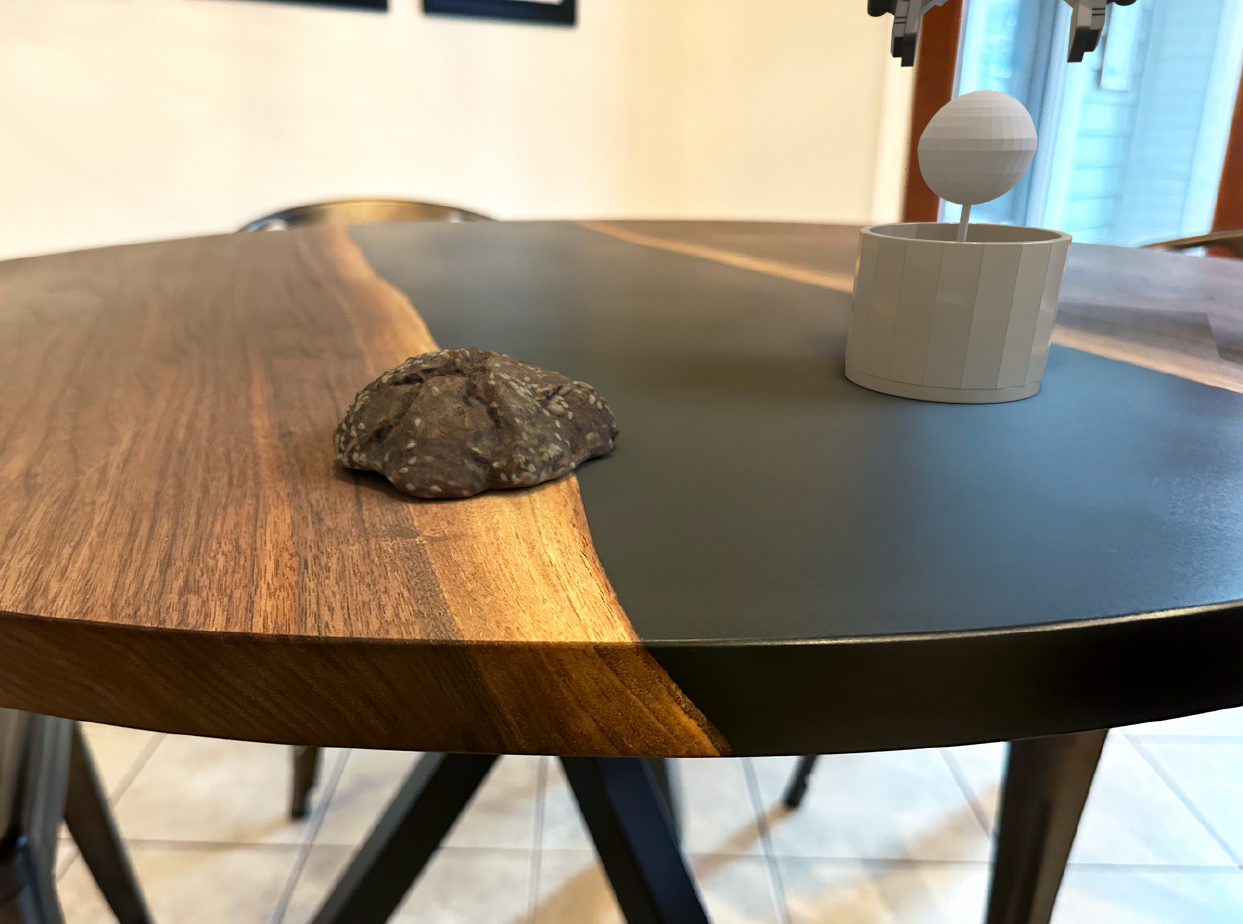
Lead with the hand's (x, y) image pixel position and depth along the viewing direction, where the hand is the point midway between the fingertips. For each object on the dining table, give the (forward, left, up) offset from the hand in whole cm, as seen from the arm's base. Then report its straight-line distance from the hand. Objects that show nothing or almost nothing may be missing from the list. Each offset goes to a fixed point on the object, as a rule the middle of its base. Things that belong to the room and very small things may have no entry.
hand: (991, 52), depth 51 cm
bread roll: (+30, +11, -18) cm, 37 cm away
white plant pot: (+1, +2, -18) cm, 18 cm away
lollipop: (+1, +2, -17) cm, 17 cm away
